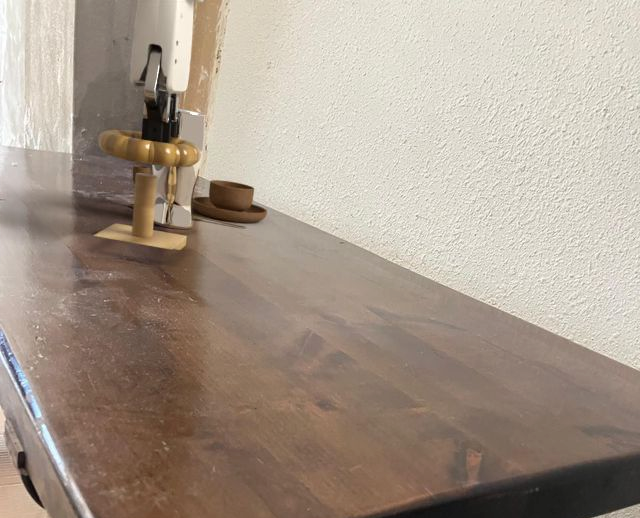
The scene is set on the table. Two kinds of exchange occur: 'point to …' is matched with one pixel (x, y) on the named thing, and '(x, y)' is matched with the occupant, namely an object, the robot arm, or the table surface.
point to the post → (144, 220)
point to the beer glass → (179, 176)
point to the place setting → (223, 201)
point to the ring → (148, 149)
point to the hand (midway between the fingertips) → (158, 154)
